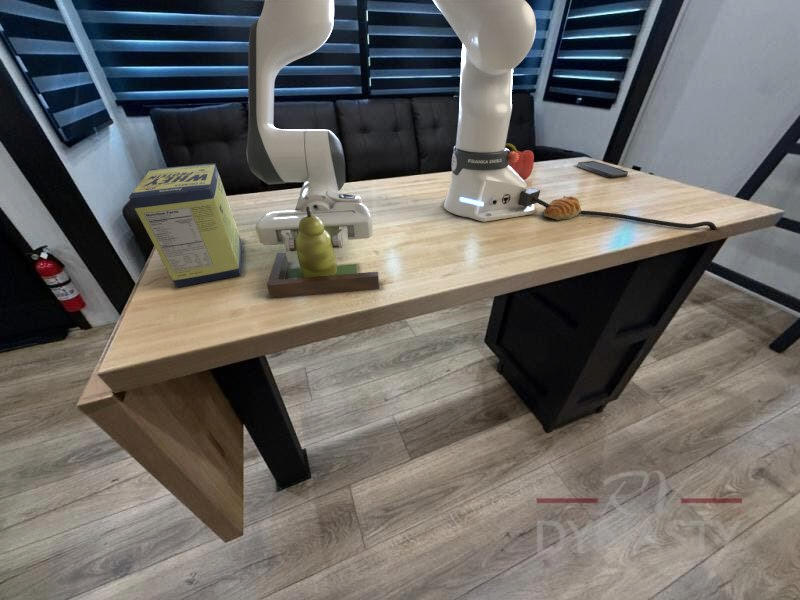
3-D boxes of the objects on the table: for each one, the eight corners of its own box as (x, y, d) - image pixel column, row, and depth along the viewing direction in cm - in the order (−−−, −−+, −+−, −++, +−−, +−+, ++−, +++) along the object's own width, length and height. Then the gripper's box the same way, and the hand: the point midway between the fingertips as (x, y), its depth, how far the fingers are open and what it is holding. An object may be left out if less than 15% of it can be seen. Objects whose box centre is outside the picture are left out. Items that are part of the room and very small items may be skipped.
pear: (337, 261, 59) (328, 198, 52) (336, 279, 55) (327, 212, 47) (303, 263, 59) (289, 200, 51) (299, 282, 54) (284, 215, 47)
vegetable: (487, 179, 100) (493, 145, 94) (506, 173, 106) (512, 140, 100) (518, 188, 94) (526, 151, 88) (536, 180, 99) (545, 145, 93)
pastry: (561, 224, 73) (566, 208, 71) (535, 215, 78) (539, 200, 75) (581, 214, 78) (586, 199, 76) (555, 206, 82) (560, 192, 80)
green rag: (356, 264, 59) (356, 264, 59) (357, 284, 54) (357, 284, 54) (289, 270, 58) (289, 269, 58) (284, 291, 53) (284, 290, 53)
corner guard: (373, 257, 61) (373, 246, 60) (379, 288, 53) (378, 276, 52) (280, 264, 59) (276, 252, 58) (270, 298, 51) (266, 285, 50)
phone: (610, 174, 100) (576, 162, 112) (609, 178, 101) (575, 165, 113) (630, 172, 102) (594, 160, 114) (628, 175, 103) (593, 163, 114)
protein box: (241, 239, 68) (215, 161, 58) (242, 276, 56) (210, 187, 47) (186, 248, 64) (149, 167, 55) (175, 289, 53) (126, 196, 44)
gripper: (260, 200, 60) (242, 232, 49) (368, 195, 63) (374, 224, 52) (268, 231, 64) (253, 267, 53) (370, 225, 66) (375, 258, 56)
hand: (314, 246), depth 53 cm, fingers closed on pear, 6 cm apart
